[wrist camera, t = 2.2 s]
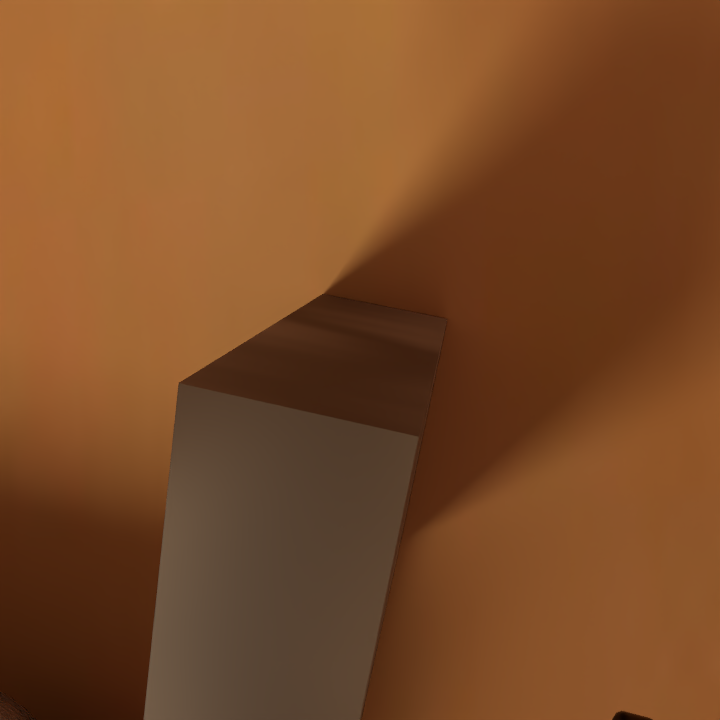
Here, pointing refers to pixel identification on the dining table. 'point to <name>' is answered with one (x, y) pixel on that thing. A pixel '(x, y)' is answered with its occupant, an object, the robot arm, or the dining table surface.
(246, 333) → the dining table surface
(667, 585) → the dining table surface
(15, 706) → the steel token
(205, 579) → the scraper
